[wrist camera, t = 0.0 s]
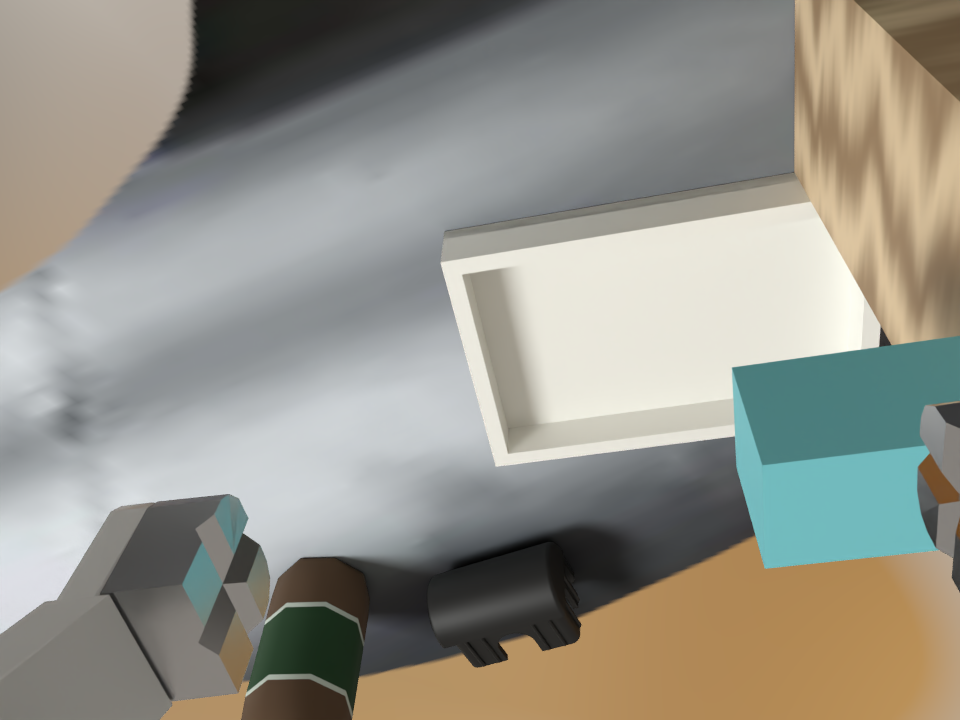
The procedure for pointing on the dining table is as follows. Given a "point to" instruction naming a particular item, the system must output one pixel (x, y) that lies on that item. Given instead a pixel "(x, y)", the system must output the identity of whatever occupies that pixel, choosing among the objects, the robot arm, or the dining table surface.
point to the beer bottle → (310, 644)
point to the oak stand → (885, 151)
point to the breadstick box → (839, 449)
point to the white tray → (644, 314)
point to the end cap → (505, 603)
